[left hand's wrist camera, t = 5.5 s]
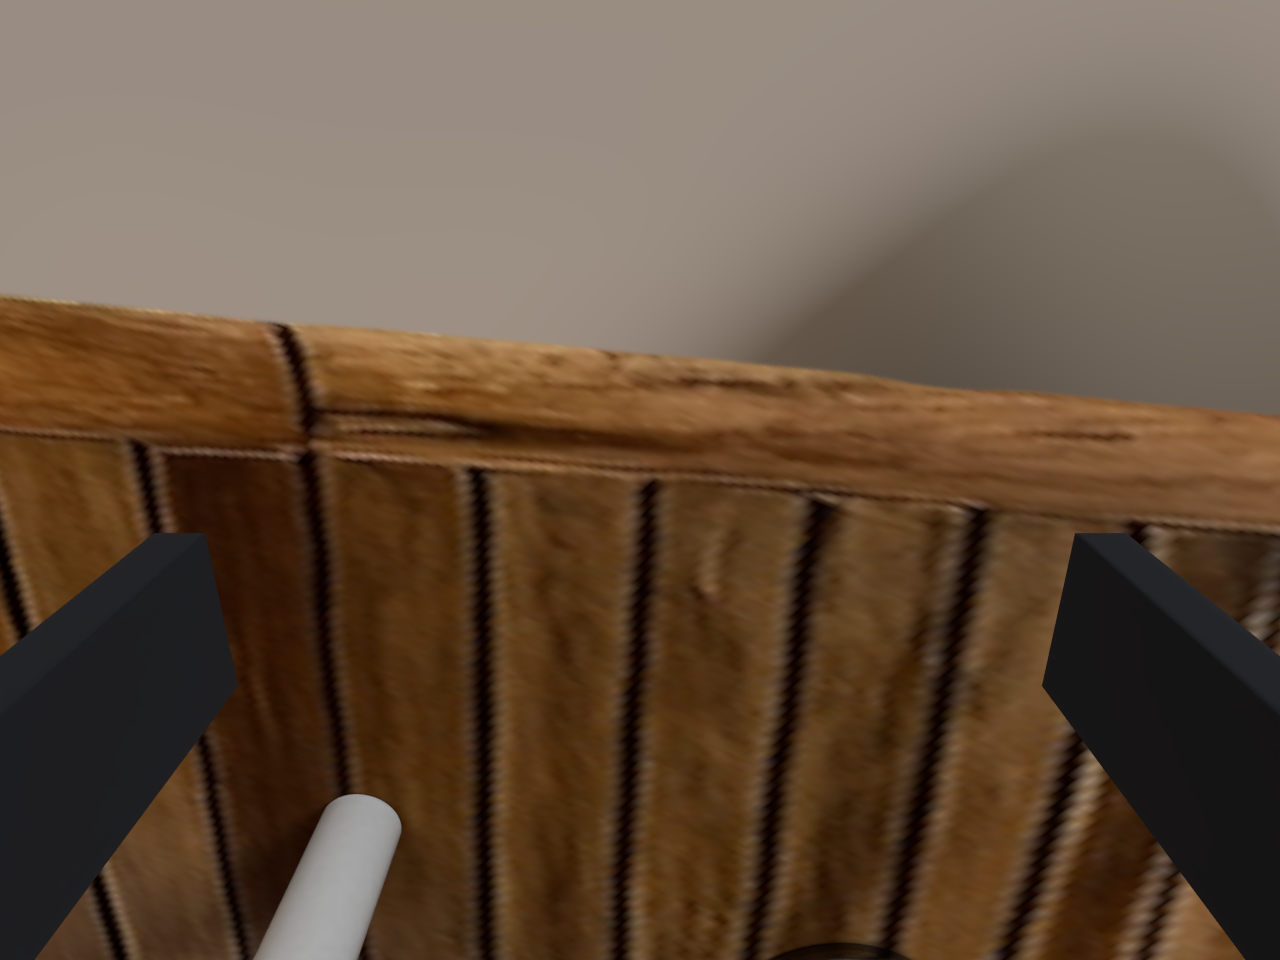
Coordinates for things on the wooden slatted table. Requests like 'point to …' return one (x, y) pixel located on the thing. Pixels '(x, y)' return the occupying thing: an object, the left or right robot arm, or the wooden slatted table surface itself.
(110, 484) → the wooden slatted table surface
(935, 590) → the wooden slatted table surface
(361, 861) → the jar
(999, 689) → the wooden slatted table surface
